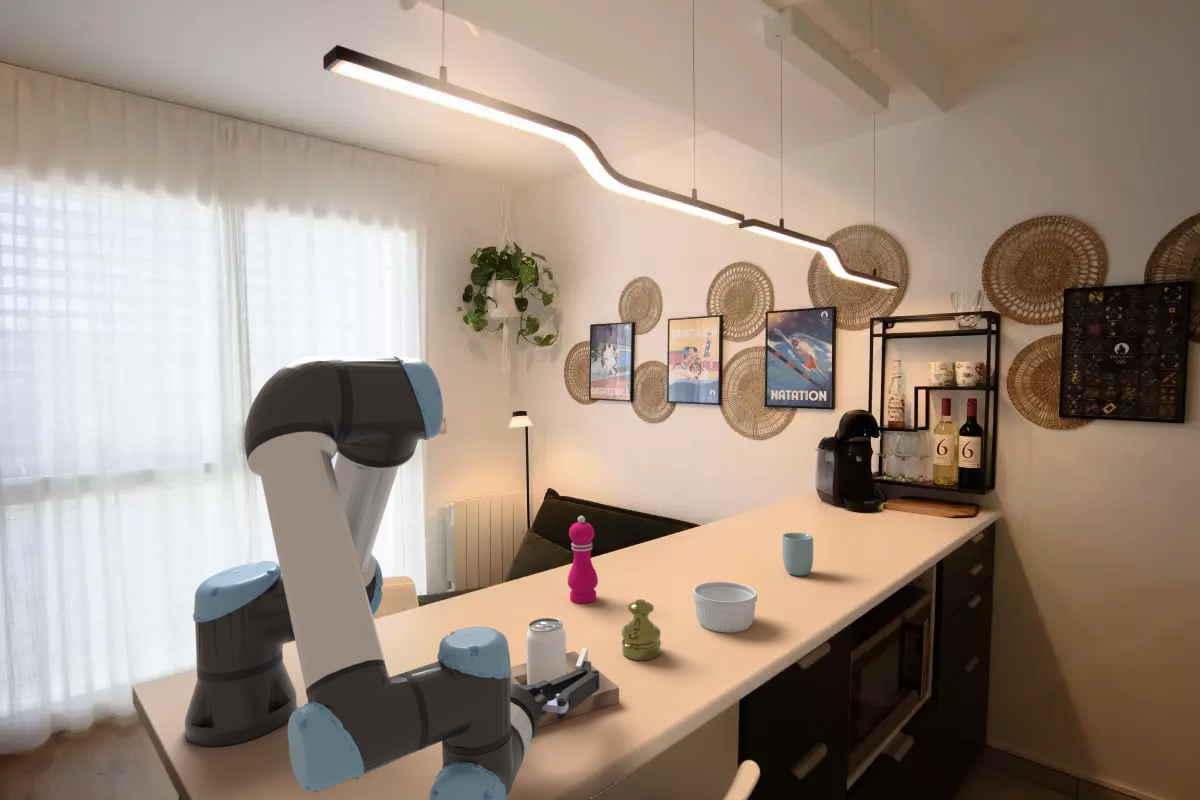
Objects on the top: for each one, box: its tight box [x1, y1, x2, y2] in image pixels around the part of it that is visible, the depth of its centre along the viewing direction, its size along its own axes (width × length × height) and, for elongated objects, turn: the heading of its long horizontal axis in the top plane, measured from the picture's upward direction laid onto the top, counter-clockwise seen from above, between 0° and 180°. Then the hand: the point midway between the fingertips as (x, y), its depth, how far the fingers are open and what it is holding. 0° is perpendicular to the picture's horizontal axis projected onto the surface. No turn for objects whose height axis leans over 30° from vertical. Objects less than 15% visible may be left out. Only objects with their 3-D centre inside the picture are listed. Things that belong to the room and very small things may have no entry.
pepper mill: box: [567, 515, 599, 605], centre depth 149 cm, size 7×7×20 cm
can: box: [525, 617, 567, 692], centre depth 103 cm, size 6×6×12 cm
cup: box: [781, 532, 814, 577], centre depth 165 cm, size 8×8×10 cm
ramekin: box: [692, 581, 758, 634], centre depth 132 cm, size 13×13×7 cm
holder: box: [510, 650, 620, 729], centre depth 103 cm, size 18×16×2 cm
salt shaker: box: [621, 598, 662, 661], centre depth 119 cm, size 7×7×10 cm
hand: (543, 654), depth 99 cm, fingers open, 13 cm apart
